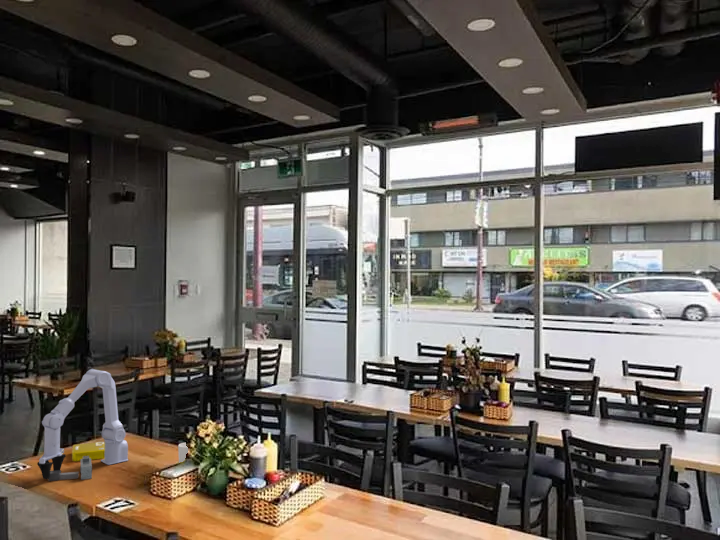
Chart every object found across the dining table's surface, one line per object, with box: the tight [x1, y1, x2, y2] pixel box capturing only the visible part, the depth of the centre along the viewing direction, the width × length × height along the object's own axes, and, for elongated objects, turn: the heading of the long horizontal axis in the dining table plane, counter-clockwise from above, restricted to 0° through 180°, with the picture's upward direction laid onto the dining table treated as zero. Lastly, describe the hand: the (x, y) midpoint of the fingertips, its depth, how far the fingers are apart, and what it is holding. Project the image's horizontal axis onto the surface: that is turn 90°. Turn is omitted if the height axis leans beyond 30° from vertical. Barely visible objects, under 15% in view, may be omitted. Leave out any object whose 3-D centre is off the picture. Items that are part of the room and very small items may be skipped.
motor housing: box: [79, 456, 93, 481], centre depth 249 cm, size 4×12×6 cm, turn 27°
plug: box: [47, 469, 80, 482], centre depth 244 cm, size 12×4×3 cm, turn 106°
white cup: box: [177, 442, 188, 464], centre depth 262 cm, size 8×8×10 cm
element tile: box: [71, 441, 105, 463], centre depth 276 cm, size 15×15×5 cm
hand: (51, 475), depth 243 cm, fingers open, 7 cm apart
